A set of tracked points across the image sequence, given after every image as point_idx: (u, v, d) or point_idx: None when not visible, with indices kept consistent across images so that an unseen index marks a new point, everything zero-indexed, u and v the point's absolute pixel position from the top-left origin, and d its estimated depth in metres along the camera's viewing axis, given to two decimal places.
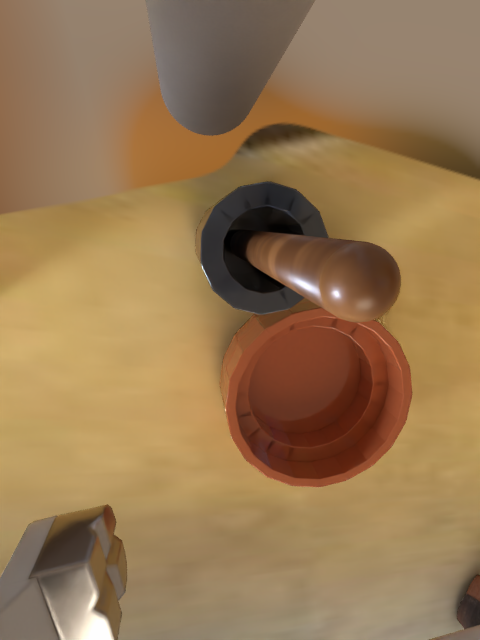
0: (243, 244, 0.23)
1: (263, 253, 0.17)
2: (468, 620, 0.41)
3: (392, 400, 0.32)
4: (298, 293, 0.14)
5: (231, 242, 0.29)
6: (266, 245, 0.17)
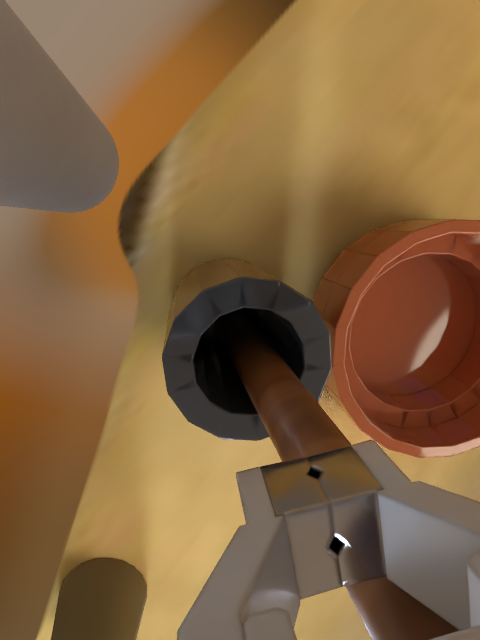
0: None
1: None
2: None
3: None
4: None
5: None
6: (282, 460, 0.13)
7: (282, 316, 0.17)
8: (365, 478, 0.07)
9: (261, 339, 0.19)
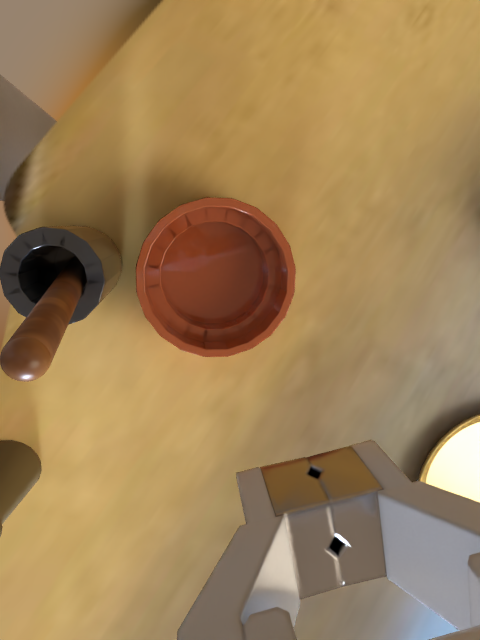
0: None
1: None
2: None
3: (258, 222, 0.36)
4: None
5: None
6: None
7: (69, 250, 0.29)
8: (365, 478, 0.07)
9: (73, 269, 0.31)
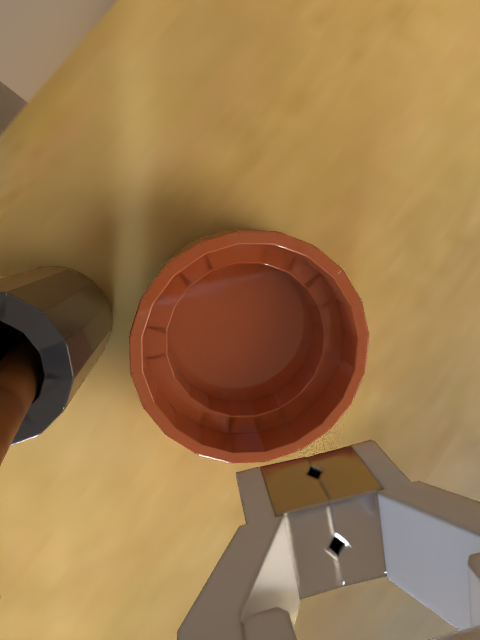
0: None
1: None
2: None
3: (313, 265, 0.24)
4: None
5: None
6: None
7: (13, 326, 0.17)
8: (365, 478, 0.07)
9: (27, 348, 0.19)
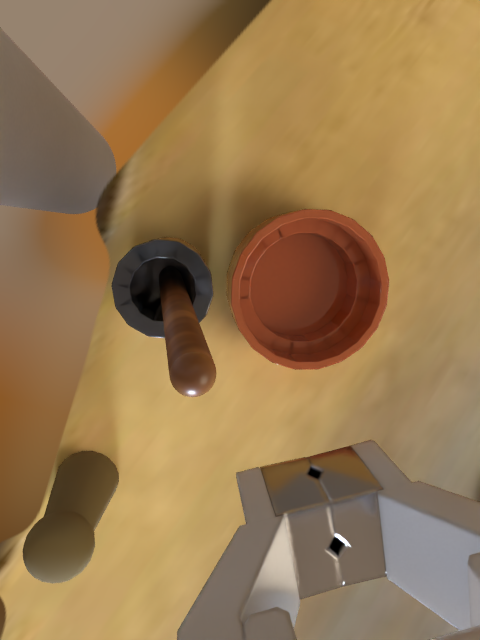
0: None
1: None
2: None
3: (351, 233, 0.35)
4: None
5: None
6: None
7: (181, 262, 0.29)
8: (365, 478, 0.07)
9: (176, 281, 0.31)
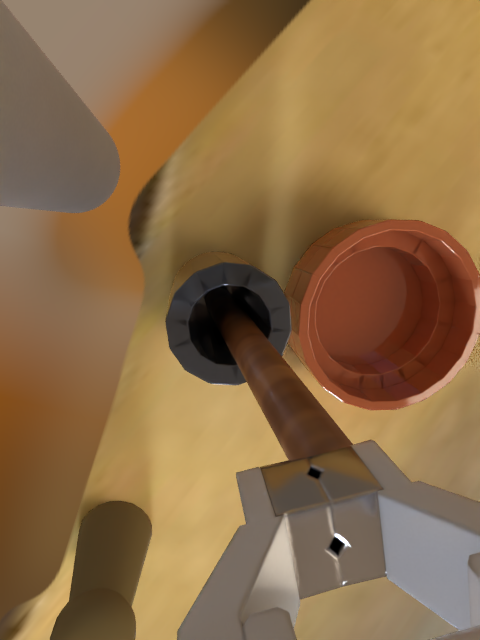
0: None
1: None
2: None
3: (439, 248, 0.29)
4: None
5: None
6: (249, 385, 0.19)
7: (253, 291, 0.22)
8: (365, 478, 0.07)
9: (240, 311, 0.25)
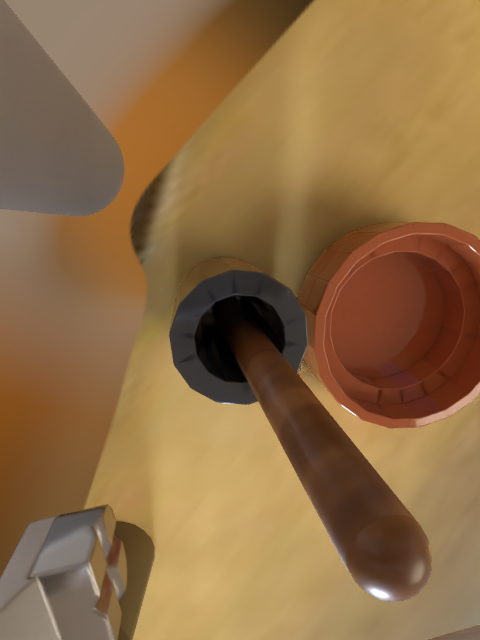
0: None
1: None
2: None
3: (465, 253, 0.27)
4: None
5: None
6: (263, 409, 0.17)
7: (266, 301, 0.20)
8: None
9: (251, 322, 0.23)
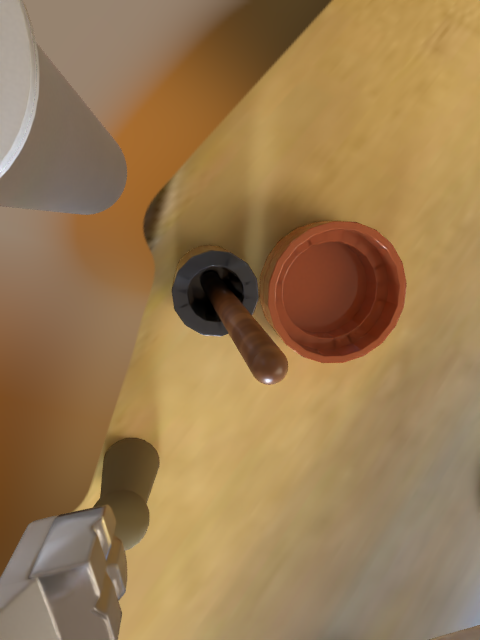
0: None
1: None
2: None
3: (373, 242, 0.40)
4: None
5: None
6: (226, 328, 0.29)
7: (232, 270, 0.33)
8: None
9: (224, 286, 0.35)
